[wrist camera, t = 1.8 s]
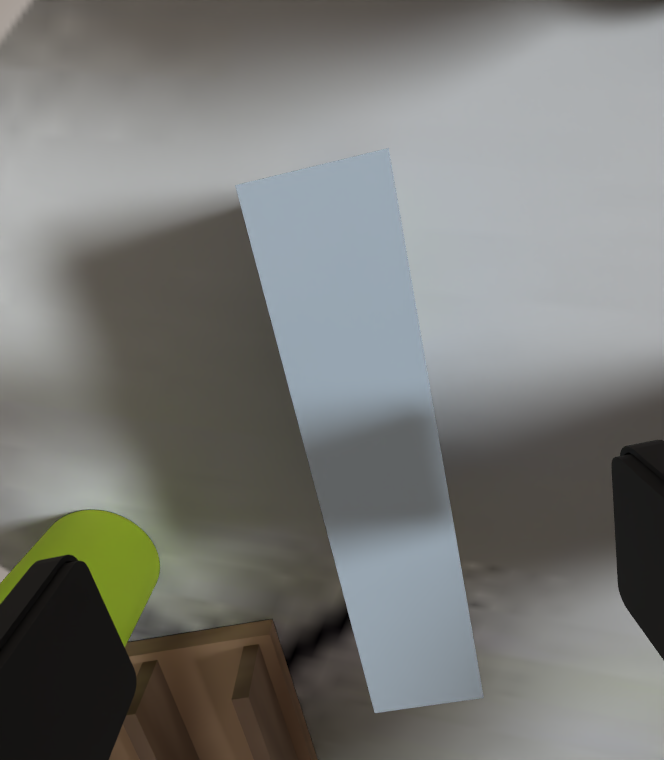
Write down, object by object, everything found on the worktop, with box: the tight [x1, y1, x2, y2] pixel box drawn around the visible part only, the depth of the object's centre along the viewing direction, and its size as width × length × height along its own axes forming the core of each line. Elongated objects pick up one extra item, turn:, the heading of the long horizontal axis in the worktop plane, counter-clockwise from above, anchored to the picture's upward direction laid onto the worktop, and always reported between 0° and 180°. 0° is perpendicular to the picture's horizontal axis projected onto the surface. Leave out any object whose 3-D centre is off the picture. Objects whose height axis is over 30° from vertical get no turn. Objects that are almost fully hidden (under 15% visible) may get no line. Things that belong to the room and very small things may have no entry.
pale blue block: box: [235, 148, 484, 713], centre depth 17 cm, size 3×14×11 cm, turn 13°
